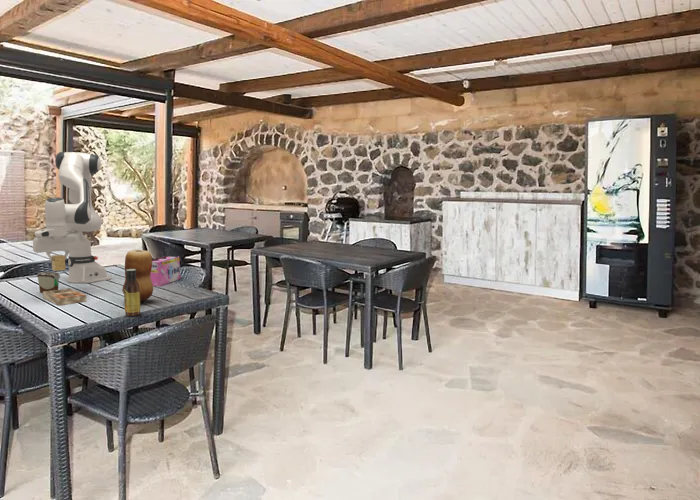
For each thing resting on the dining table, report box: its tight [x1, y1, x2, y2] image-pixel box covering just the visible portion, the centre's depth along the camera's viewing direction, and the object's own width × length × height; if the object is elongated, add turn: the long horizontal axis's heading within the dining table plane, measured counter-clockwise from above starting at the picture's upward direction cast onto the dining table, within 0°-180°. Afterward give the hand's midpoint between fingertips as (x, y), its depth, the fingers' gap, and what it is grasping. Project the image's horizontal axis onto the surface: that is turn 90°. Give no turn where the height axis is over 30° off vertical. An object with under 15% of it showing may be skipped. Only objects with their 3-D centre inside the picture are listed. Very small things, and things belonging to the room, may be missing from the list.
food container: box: [36, 271, 61, 294], centre depth 260 cm, size 12×6×10 cm, turn 71°
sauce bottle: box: [123, 269, 141, 317], centre depth 221 cm, size 7×6×20 cm
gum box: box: [150, 255, 181, 287], centre depth 293 cm, size 24×8×14 cm, turn 168°
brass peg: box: [50, 254, 66, 272], centre depth 248 cm, size 4×4×7 cm
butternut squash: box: [122, 249, 154, 303], centre depth 243 cm, size 14×13×25 cm
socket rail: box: [42, 287, 87, 306], centre depth 246 cm, size 12×21×3 cm, turn 47°
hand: (58, 260), depth 248 cm, fingers closed on brass peg, 4 cm apart
